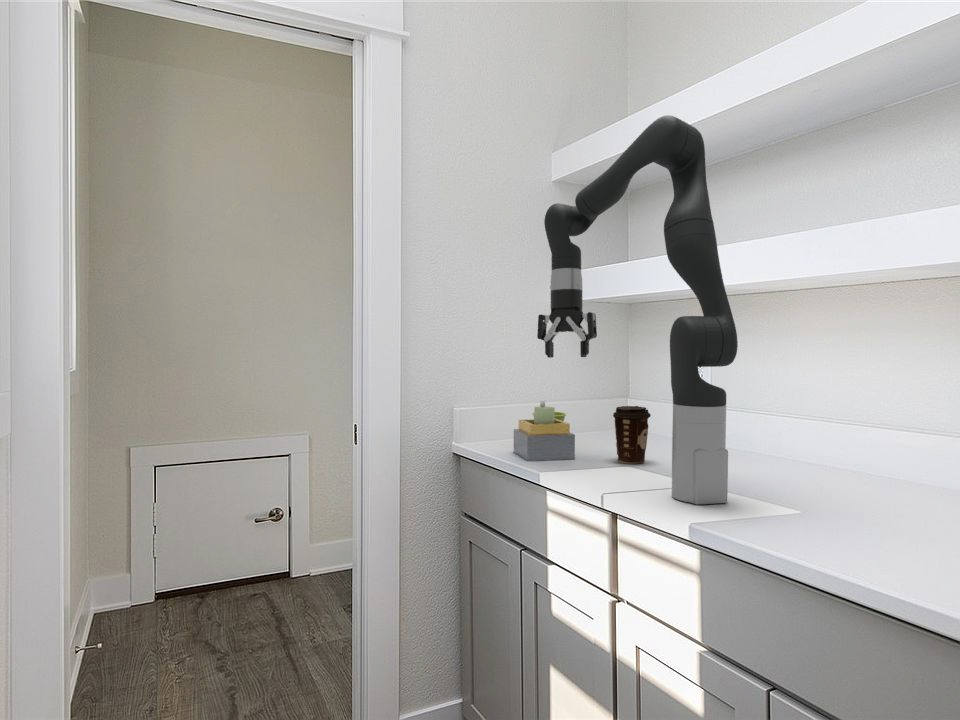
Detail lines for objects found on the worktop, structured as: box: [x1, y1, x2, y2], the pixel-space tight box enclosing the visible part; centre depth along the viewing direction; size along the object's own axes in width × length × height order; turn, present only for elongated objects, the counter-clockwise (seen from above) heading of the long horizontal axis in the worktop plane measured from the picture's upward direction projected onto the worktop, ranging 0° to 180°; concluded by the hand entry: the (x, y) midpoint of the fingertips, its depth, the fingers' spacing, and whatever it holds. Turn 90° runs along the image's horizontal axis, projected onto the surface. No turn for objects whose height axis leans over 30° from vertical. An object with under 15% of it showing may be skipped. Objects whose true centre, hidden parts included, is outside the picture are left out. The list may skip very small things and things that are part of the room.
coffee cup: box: [612, 405, 652, 465], centre depth 152 cm, size 9×8×13 cm
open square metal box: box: [513, 418, 576, 462], centre depth 159 cm, size 12×12×8 cm
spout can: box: [533, 400, 556, 424], centre depth 159 cm, size 5×5×10 cm
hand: (566, 357), depth 152 cm, fingers open, 8 cm apart
